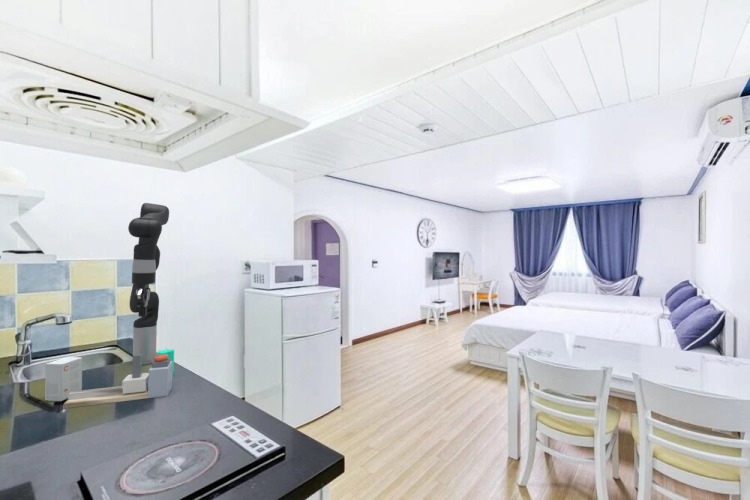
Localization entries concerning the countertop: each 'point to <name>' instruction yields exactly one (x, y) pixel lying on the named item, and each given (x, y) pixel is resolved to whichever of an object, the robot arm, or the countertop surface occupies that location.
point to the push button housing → (160, 378)
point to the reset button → (161, 357)
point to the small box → (62, 378)
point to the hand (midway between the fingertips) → (142, 316)
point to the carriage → (136, 377)
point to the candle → (169, 356)
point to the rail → (101, 396)
